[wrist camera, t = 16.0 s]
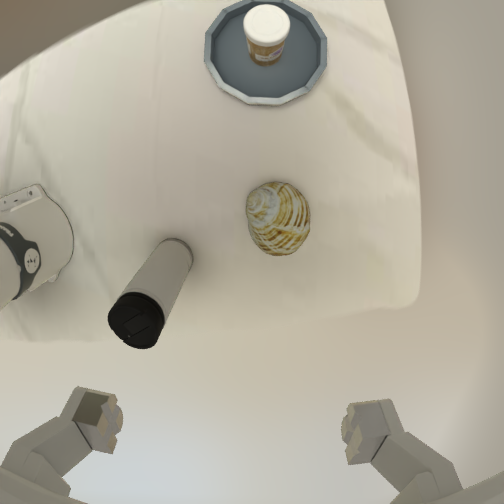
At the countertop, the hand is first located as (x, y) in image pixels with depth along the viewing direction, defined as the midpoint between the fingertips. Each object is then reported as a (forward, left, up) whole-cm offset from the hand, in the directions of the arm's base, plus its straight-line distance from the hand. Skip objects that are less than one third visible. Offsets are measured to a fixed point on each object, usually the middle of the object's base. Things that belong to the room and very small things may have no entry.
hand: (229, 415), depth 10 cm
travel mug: (-12, -11, -39) cm, 42 cm away
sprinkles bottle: (+1, +20, -38) cm, 42 cm away
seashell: (+3, -4, -39) cm, 39 cm away
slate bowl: (+1, +20, -38) cm, 43 cm away
